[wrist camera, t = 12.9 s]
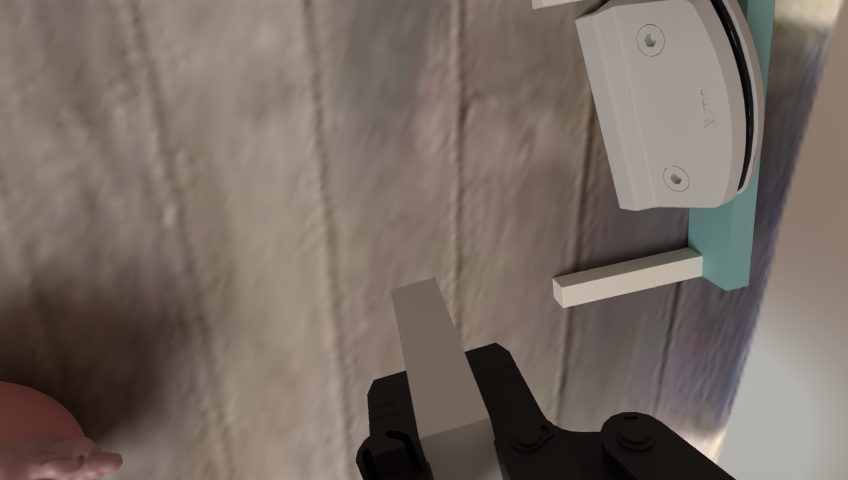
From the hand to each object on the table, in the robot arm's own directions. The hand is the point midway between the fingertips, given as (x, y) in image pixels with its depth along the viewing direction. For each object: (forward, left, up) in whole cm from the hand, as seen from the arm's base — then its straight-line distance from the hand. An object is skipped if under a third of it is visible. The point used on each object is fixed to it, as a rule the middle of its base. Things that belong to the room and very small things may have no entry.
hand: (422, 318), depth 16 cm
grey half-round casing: (-1, +22, -23) cm, 32 cm away
